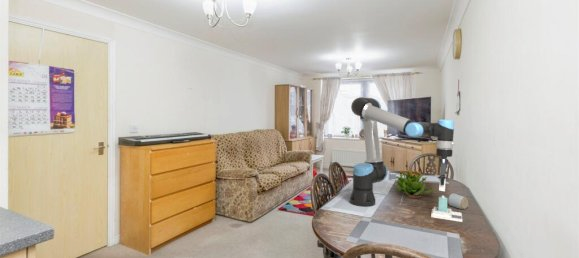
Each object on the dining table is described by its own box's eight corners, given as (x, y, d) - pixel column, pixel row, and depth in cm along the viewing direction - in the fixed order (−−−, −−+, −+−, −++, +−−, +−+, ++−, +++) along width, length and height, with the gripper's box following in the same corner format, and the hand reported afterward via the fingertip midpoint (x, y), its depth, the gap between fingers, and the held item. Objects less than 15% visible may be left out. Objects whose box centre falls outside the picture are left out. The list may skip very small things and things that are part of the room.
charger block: (438, 213, 155) (438, 196, 155) (438, 211, 159) (439, 194, 159) (446, 214, 154) (447, 197, 153) (446, 212, 157) (447, 195, 157)
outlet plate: (431, 217, 153) (431, 212, 153) (432, 210, 163) (432, 205, 163) (462, 222, 146) (462, 216, 146) (461, 214, 157) (461, 210, 156)
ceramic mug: (461, 210, 164) (462, 197, 163) (447, 206, 171) (448, 193, 171) (472, 208, 169) (472, 195, 169) (458, 204, 176) (458, 191, 176)
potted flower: (437, 195, 196) (438, 169, 195) (433, 204, 176) (434, 175, 175) (398, 189, 209) (399, 165, 209) (390, 197, 189) (391, 170, 189)
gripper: (452, 151, 142) (450, 194, 143) (452, 146, 164) (450, 184, 165) (435, 150, 146) (433, 192, 147) (437, 145, 168) (435, 182, 169)
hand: (442, 188), depth 156 cm, fingers open, 13 cm apart
